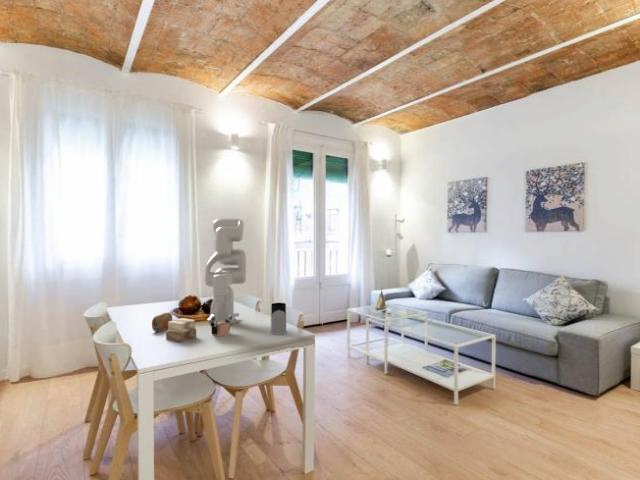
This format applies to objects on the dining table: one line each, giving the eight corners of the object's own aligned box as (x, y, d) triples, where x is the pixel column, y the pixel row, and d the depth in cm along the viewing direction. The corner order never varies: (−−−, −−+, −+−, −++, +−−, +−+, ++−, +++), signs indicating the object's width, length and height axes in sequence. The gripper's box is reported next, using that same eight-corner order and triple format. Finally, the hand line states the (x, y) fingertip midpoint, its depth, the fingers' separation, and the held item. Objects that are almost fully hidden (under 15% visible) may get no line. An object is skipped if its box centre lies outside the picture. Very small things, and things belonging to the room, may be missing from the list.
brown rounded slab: (156, 333, 196) (155, 317, 196) (150, 333, 197) (150, 317, 196) (173, 326, 211) (172, 311, 211) (168, 325, 211) (167, 311, 211)
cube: (220, 332, 198) (220, 321, 197) (229, 334, 195) (229, 322, 194) (212, 335, 192) (212, 324, 192) (221, 337, 189) (221, 325, 189)
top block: (182, 326, 194) (182, 318, 194) (195, 328, 190) (195, 319, 189) (168, 330, 186) (167, 321, 186) (181, 333, 182) (180, 324, 182)
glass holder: (270, 335, 192) (270, 306, 192) (269, 328, 206) (269, 300, 206) (287, 334, 194) (287, 305, 193) (285, 327, 208) (285, 300, 207)
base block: (182, 335, 194) (182, 326, 194) (196, 337, 190) (196, 329, 189) (166, 340, 186) (165, 331, 186) (180, 343, 181) (179, 333, 181)
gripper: (227, 295, 202) (227, 327, 203) (202, 300, 187) (202, 335, 188) (237, 296, 198) (238, 329, 199) (213, 301, 183) (213, 337, 184)
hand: (220, 332), depth 193 cm, fingers open, 8 cm apart
